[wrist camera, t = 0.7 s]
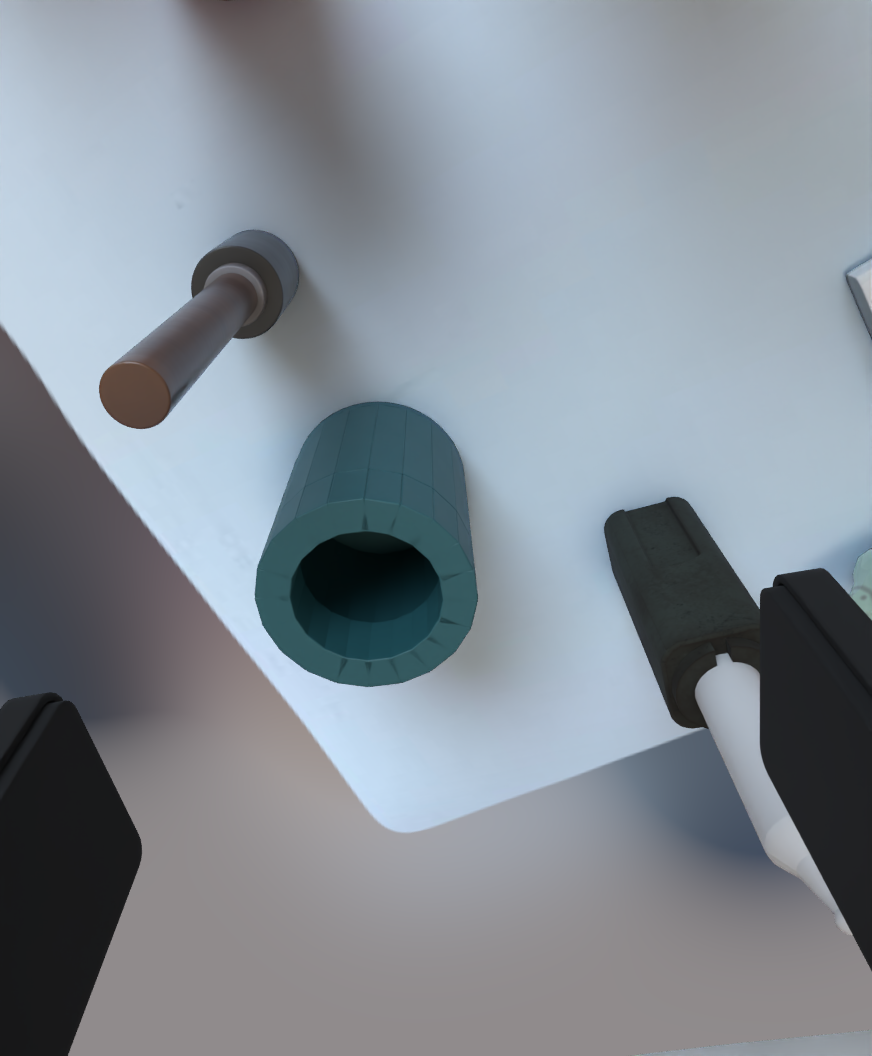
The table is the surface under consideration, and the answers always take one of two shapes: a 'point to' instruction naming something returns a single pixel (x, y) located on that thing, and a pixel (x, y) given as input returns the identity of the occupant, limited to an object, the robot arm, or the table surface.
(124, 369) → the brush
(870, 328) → the hard drive
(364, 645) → the teal hollow cylinder
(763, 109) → the table surface
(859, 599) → the green toy fish
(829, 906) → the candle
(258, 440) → the table surface
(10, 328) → the table surface
